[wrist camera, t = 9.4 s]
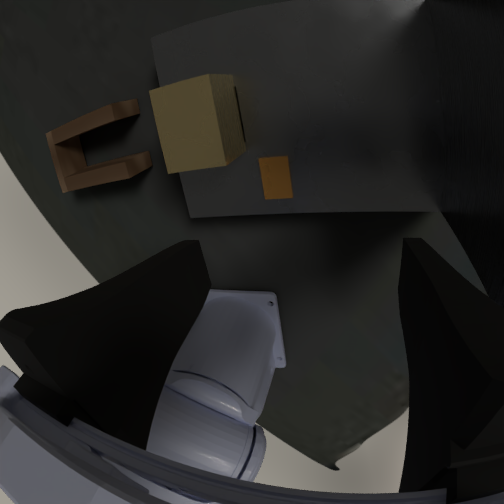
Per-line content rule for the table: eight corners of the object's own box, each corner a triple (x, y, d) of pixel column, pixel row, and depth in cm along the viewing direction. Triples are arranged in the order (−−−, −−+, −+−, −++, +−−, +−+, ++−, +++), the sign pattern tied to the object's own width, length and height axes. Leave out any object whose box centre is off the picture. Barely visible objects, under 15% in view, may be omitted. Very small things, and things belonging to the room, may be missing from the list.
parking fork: (152, 165, 22) (129, 178, 19) (85, 180, 24) (62, 192, 22) (136, 98, 19) (110, 103, 17) (70, 125, 22) (45, 133, 19)
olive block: (258, 141, 19) (226, 165, 14) (213, 147, 20) (168, 173, 15) (247, 75, 17) (208, 73, 12) (200, 85, 18) (149, 90, 13)
